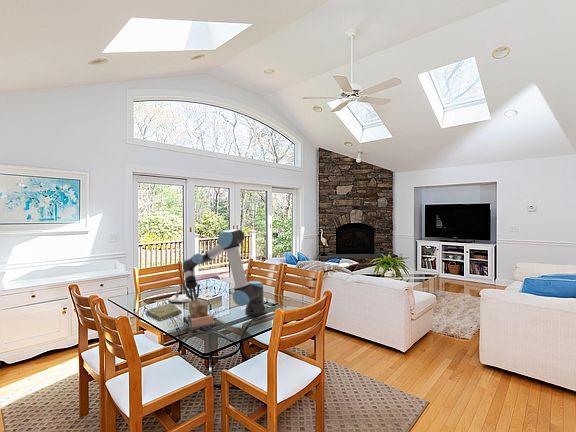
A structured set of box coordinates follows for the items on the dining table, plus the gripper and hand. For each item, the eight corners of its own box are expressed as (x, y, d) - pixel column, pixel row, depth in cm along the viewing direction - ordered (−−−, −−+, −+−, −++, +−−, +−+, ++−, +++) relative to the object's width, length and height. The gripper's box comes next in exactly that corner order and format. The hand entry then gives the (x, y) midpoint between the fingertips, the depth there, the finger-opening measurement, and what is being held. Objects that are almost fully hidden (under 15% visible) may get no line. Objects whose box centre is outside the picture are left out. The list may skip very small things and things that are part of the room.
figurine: (169, 304, 246) (171, 283, 246) (167, 297, 263) (169, 278, 262) (195, 303, 254) (196, 283, 254) (192, 296, 271) (193, 277, 271)
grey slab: (206, 313, 230) (206, 305, 229) (215, 324, 211) (214, 315, 210) (184, 317, 222) (184, 308, 222) (190, 329, 203) (190, 320, 202)
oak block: (205, 312, 227) (205, 298, 227) (210, 318, 217) (209, 304, 216) (186, 316, 221) (186, 302, 220) (190, 322, 211) (189, 307, 210)
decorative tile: (160, 321, 217) (159, 316, 217) (146, 313, 230) (146, 309, 230) (184, 313, 232) (183, 308, 232) (169, 306, 245) (169, 302, 244)
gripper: (198, 279, 245) (203, 306, 231) (180, 281, 239) (185, 310, 225) (199, 274, 240) (205, 302, 226) (181, 276, 233) (186, 305, 220)
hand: (195, 306), depth 226 cm, fingers closed
